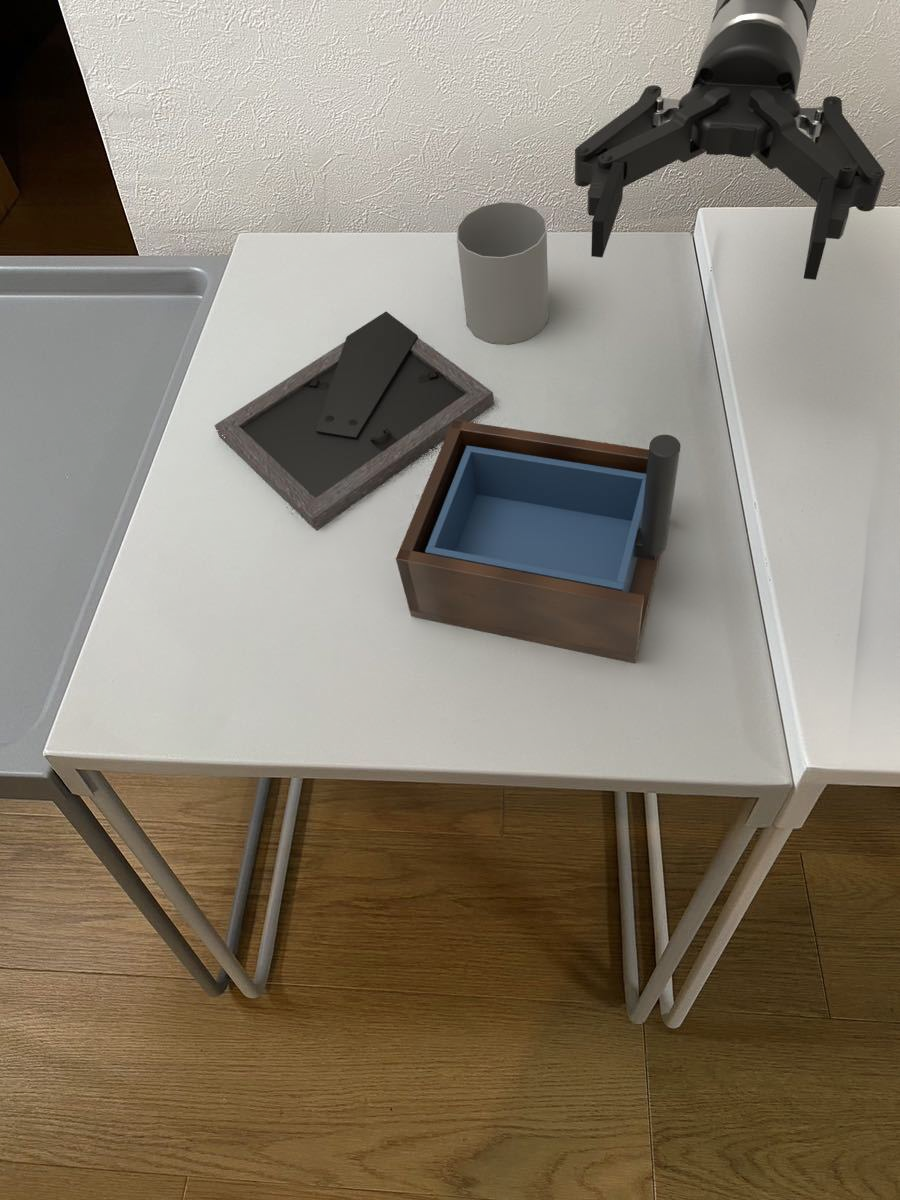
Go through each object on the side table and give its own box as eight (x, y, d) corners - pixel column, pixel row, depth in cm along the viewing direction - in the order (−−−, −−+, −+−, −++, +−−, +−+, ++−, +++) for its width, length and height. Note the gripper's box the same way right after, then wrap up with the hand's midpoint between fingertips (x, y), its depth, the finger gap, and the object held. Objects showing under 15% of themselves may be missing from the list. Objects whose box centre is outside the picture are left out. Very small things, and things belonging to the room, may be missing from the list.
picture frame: (389, 326, 95) (219, 436, 89) (386, 311, 93) (212, 422, 87) (493, 404, 88) (316, 530, 81) (492, 388, 86) (310, 516, 80)
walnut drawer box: (668, 517, 78) (677, 453, 71) (634, 663, 71) (641, 606, 64) (462, 483, 83) (452, 419, 76) (410, 616, 75) (395, 558, 69)
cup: (457, 340, 93) (446, 254, 85) (475, 286, 97) (467, 200, 89) (541, 347, 91) (538, 260, 83) (555, 292, 95) (554, 204, 87)
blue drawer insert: (673, 526, 76) (694, 388, 63) (648, 639, 71) (665, 512, 58) (472, 492, 80) (454, 356, 68) (434, 595, 75) (406, 468, 62)
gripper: (911, 131, 70) (894, 320, 59) (584, 110, 76) (516, 277, 66) (944, 25, 64) (932, 215, 53) (585, 11, 70) (510, 179, 59)
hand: (702, 250), depth 59 cm, fingers open, 13 cm apart
